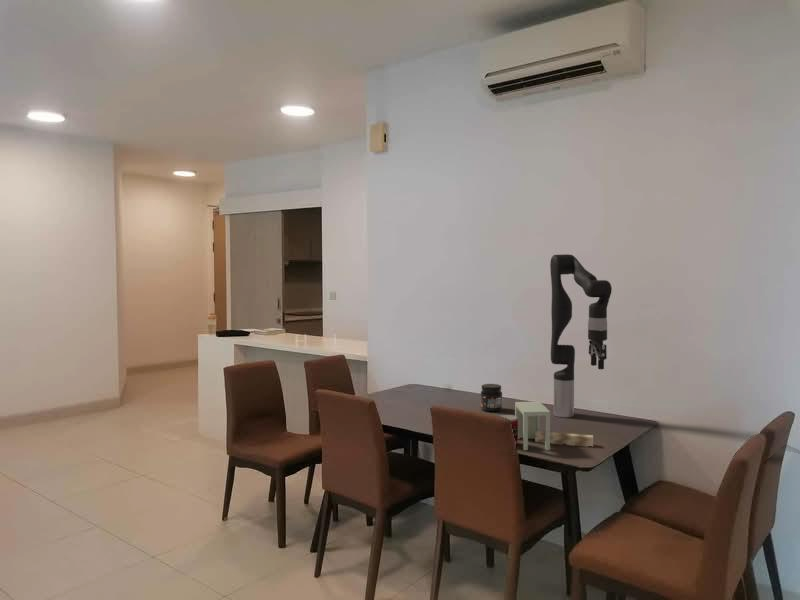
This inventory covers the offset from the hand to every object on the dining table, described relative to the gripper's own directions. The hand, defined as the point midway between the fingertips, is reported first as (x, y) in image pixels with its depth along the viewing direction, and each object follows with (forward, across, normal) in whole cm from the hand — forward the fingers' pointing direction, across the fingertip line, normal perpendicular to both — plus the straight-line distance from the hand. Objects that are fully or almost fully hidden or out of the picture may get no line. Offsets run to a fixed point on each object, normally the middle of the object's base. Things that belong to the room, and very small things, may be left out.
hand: (597, 367), depth 240 cm
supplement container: (+28, -42, -37) cm, 63 cm away
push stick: (+28, +12, -17) cm, 35 cm away
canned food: (+28, +12, -40) cm, 50 cm away
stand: (+28, +12, -30) cm, 43 cm away
